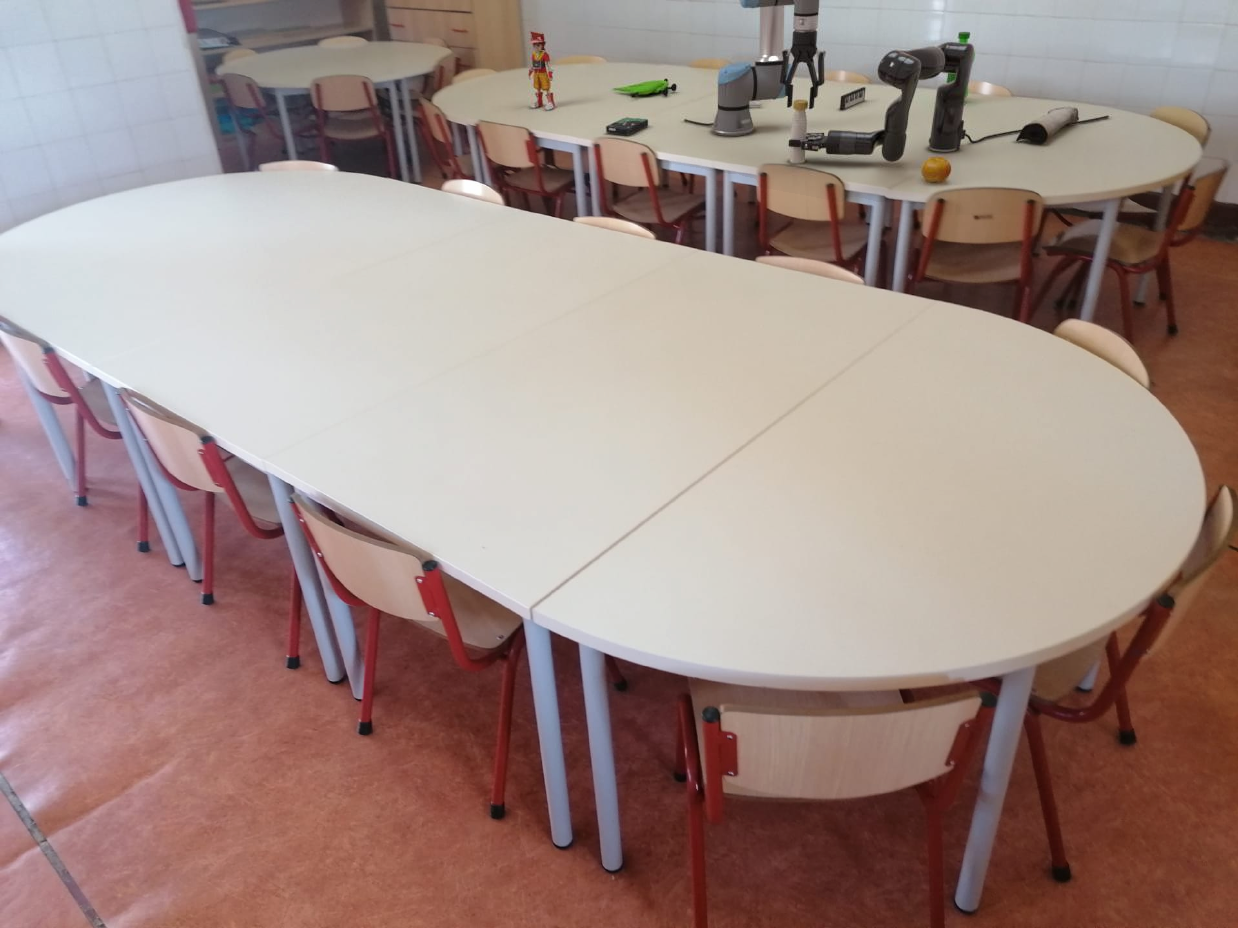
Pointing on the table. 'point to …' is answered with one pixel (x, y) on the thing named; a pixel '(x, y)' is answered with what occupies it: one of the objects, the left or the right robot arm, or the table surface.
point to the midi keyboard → (852, 98)
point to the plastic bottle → (962, 39)
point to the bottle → (798, 136)
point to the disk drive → (627, 126)
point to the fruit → (936, 169)
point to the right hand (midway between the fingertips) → (790, 141)
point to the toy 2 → (648, 88)
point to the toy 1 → (541, 71)
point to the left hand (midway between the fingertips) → (800, 107)
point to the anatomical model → (754, 103)
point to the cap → (800, 104)
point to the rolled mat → (1048, 125)
